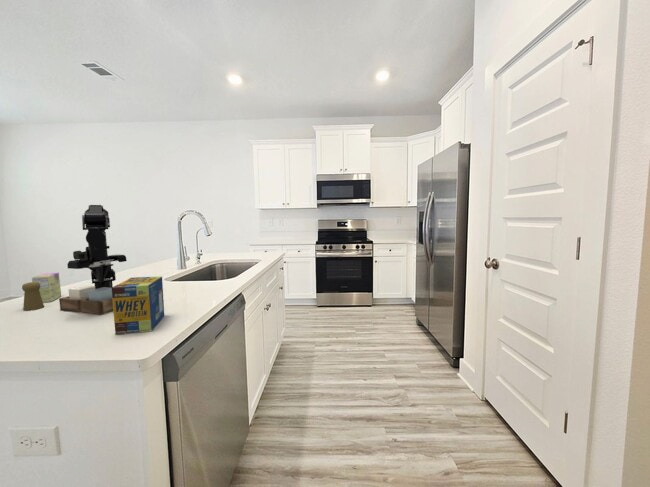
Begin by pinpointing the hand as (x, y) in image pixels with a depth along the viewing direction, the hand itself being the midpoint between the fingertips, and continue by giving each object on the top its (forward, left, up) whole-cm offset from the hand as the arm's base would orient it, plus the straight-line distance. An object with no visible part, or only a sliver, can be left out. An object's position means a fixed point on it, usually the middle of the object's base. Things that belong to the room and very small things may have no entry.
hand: (101, 282), depth 111 cm
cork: (+6, -30, -12) cm, 33 cm away
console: (0, -5, -11) cm, 13 cm away
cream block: (0, -11, -7) cm, 13 cm away
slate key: (0, 0, -7) cm, 7 cm away
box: (-4, -39, -12) cm, 41 cm away
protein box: (+8, +30, -12) cm, 33 cm away
